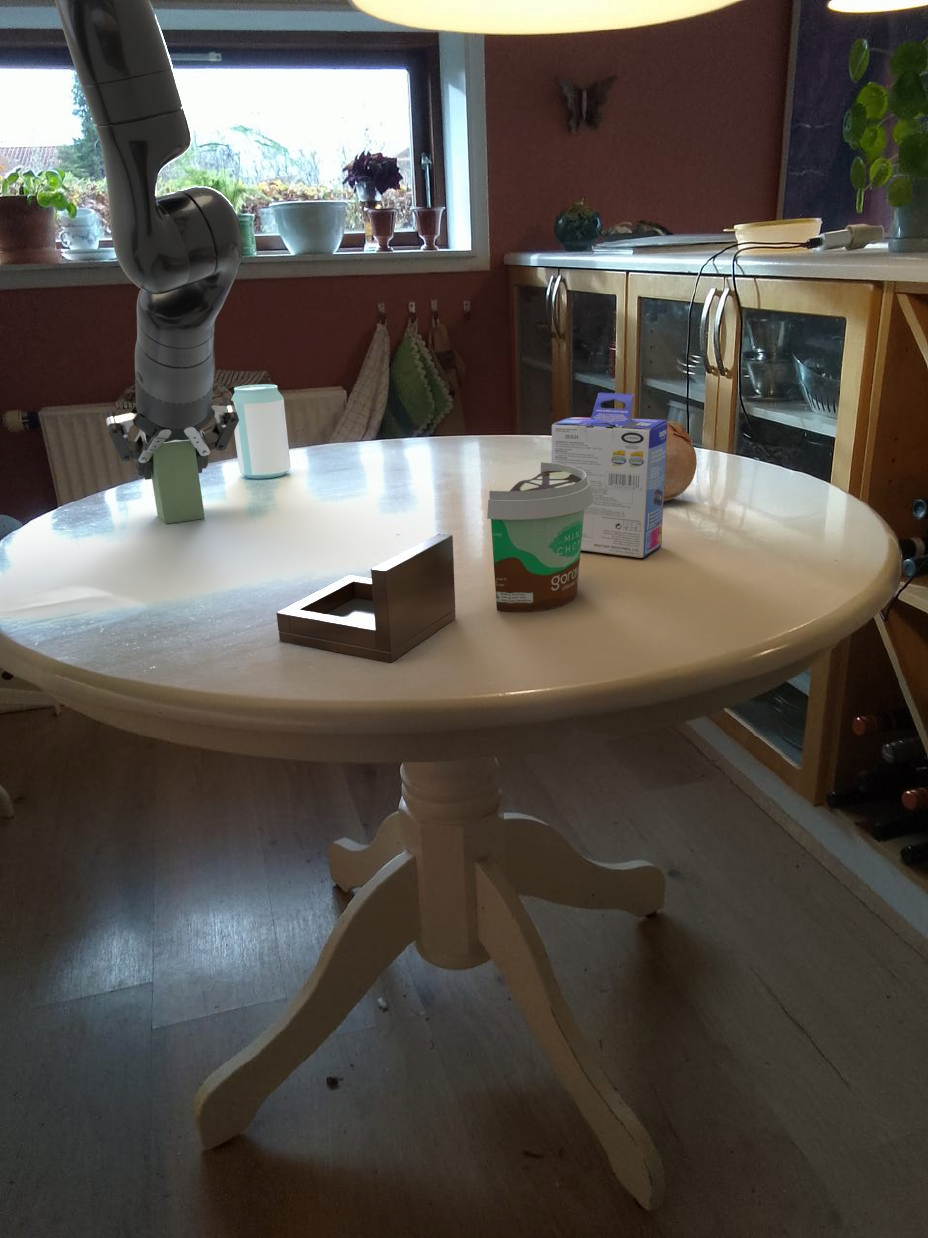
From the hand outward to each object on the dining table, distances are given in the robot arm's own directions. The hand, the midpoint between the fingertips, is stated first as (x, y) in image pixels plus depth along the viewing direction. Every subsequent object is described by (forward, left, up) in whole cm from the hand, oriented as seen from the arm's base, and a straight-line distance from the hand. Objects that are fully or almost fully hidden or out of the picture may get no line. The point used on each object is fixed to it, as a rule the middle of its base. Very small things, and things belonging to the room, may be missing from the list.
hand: (171, 469), depth 103 cm
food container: (+49, -18, -5) cm, 53 cm away
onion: (+53, +17, -5) cm, 56 cm away
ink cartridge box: (+51, -3, -5) cm, 52 cm away
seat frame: (+37, -29, -5) cm, 47 cm away
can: (-1, +22, -5) cm, 22 cm away
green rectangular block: (+1, -1, -5) cm, 5 cm away
